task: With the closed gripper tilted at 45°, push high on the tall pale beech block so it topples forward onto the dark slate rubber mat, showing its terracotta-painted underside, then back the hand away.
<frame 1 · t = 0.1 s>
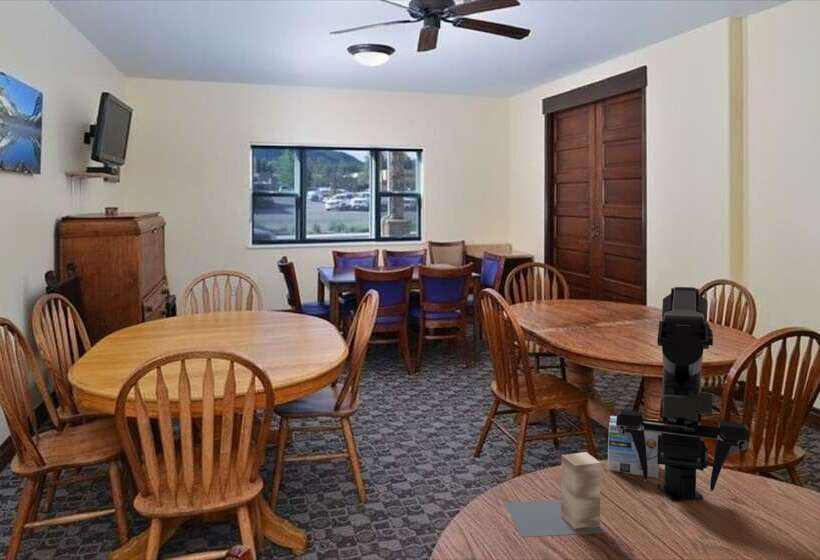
hand: (678, 485, 91), 15 cm above the table, tool tilted 35°, fingers open, 9 cm apart
beech block: (580, 522, 109), resting on slate mat
light bulb box: (633, 469, 133), on the table
slate mat: (553, 518, 112), on the table
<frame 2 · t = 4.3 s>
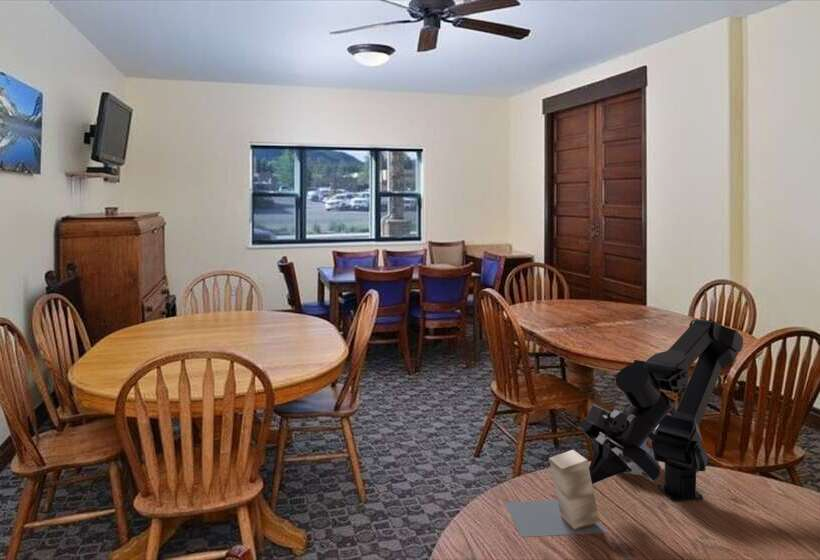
hand: (587, 482, 109), 8 cm above the table, tool tilted 45°, fingers closed
beech block: (579, 519, 109), point 1 cm above the table, tilted 12°, touching gripper, slate mat
everything else where it was.
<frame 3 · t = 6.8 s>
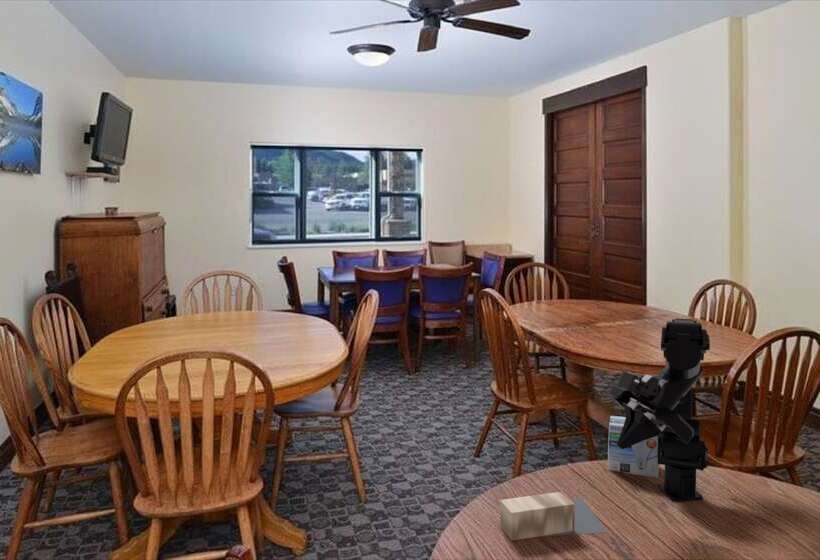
hand: (619, 447, 110), 14 cm above the table, tool tilted 45°, fingers closed
beech block: (567, 510, 108), point 3 cm above the table, tilted 90°, touching slate mat
everything else where it was.
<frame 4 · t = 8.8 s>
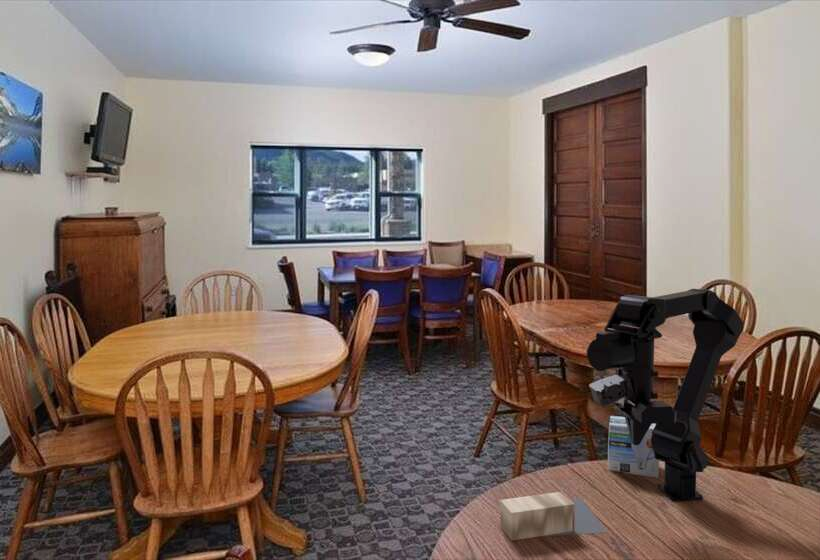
hand: (635, 444, 113), 13 cm above the table, tool pointing down, fingers closed
nothing on the table moved.
at the end: beech block tilted 90°; beech block touching slate mat; beech block inside the target area (1.5 cm from its centre), point 2.9 cm above the table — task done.
